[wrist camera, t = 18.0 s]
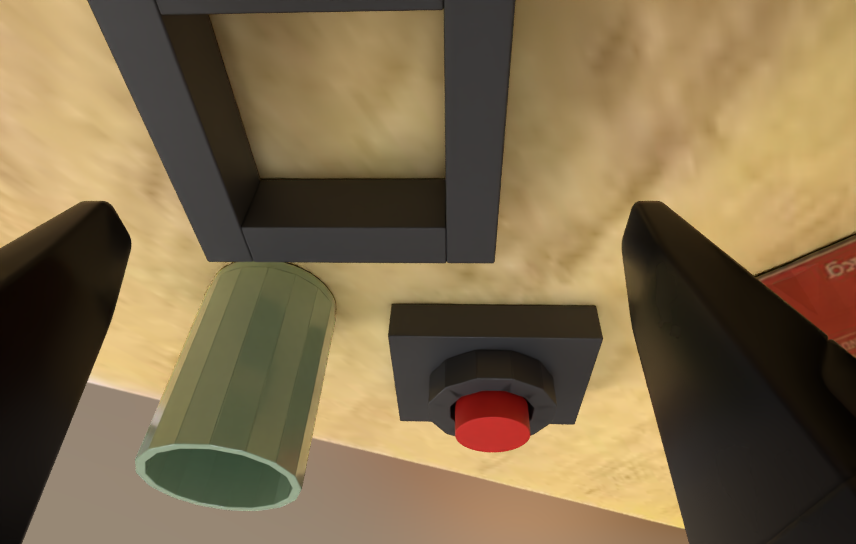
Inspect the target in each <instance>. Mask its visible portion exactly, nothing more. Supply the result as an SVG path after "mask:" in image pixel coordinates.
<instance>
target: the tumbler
mask: <svg viewBox="0 0 856 544" xmlns="http://www.w3.org/2000/svg"><path fill="white" fill-rule="evenodd" d="M335 315H336V304H335V301H334V298H333V296H332V294H331V292H330V291H329V289H328V288H327V287H326V286H325V285H324V284H323V283H322V282H321V281H320V280H319V279H317V278H316V277H315V276H313V275H312V274H310V273H309V272H307V271H305V270H303V269H301V268H299V267H296V266H294V265H291V264H288V263H284V262H254V261H253V262H235V263H232V264H230V265H228V266H226V267H224V268H223V269H222V270H220V271H219V272H218V273H217V274H216V276H215V277H214V279H213V281H212V283H211V285H210V286H209V287H208V289H207V292H206V294H205V296H204V299H203V301H202V304H201V306H200V308H199V311H198V313H197V315H196V318H195V320H194V322H193V325H192V327H191V329H190V332H189V334H188V336H187V339H186V341H185V343H184V346H183V348H182V350H181V353H180V355H179V358H178V360H177V362H176V365H175V367H174V369H173V372H172V374H171V376H170V379H169V381H168V383H167V386H166V388H165V390H164V393H163V395H162V397H161V400H160V402H159V405H158V407H157V409H156V412H155V414H154V416H153V419H152V421H151V423H150V426H149V428H148V430H147V433H146V435H145V437H144V440H143V442H142V444H141V447H140V449H139V451H138V454H137V456H136V459H135V465H136V473H137V474H138V475H139V476H140V477H141V478H142V479H143V480H144V481H145V482H146V483H147V484H148V485H149V486H151V487H153V488H155V489H157V490H159V491H161V492H163V493H165V494H167V495H169V496H171V497H173V498H176V499H180V500H183V501H187V502H189V503H193V504H196V505H200V506H206V507H212V508H218V509H224V510H239V511H260V510H266V509H274V508H279V507H282V506H284V505H287V504H288V503H291V502H293V501H295V500H296V499H297V497H298V495H299V493H300V492H301V489H302V485H303V480H304V476H305V470H306V466H307V461H308V455H309V450H310V445H311V440H312V435H313V430H314V425H315V420H316V415H317V410H318V405H319V400H320V395H321V390H322V385H323V380H324V375H325V370H326V365H327V360H328V355H329V350H330V345H331V340H332V335H333V330H334V325H335Z"/></svg>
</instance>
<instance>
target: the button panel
mask: <svg viewBox="0 0 856 544" xmlns="http://www.w3.org/2000/svg"><path fill="white" fill-rule="evenodd" d="M388 338H389V345H390V352H391V359H392V366H393V373H394V380H395V388H396V395H397V402H398V409H399V416H400V421H428V422H433V423H434V424H435V425H437V426H438V427H439V428H440V429H441V430H443V431H444V432H445V433H446V434H449V435H453V436H455V404H456V402H457V400H458V399H459V398H460V397H462V396H466V395H469V394H473V393H476V392H480V391H507V392H509V393H512V394H515V395H518V396H521V397H523V398H524V399H525V400H526V402H527V404H528V413H529V424H530V436H531V435H534V434H535V433H537V432H538V431H540V430H541V429H543V428H544V427H546V426H547V425H549V424H575V421H576V418H577V415H578V412H579V409H580V406H581V403H582V400H583V397H584V394H585V391H586V388H587V385H588V382H589V379H590V376H591V373H592V370H593V367H594V364H595V361H596V358H597V355H598V352H599V349H600V346H601V343H602V340H603V336H602V332H601V327H600V323H599V318H598V314H597V309H596V306H530V305H427V304H392V306H391V315H390V324H389V333H388Z"/></svg>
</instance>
